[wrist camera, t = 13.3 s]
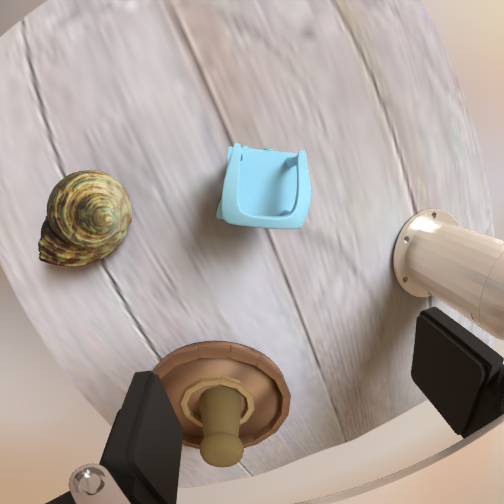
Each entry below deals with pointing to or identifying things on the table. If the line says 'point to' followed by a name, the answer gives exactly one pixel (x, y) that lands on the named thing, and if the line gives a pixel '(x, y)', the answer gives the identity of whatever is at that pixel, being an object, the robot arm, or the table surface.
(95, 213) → the seashell
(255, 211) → the chair
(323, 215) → the table surface
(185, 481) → the table surface
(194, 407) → the ring tray
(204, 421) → the cork
